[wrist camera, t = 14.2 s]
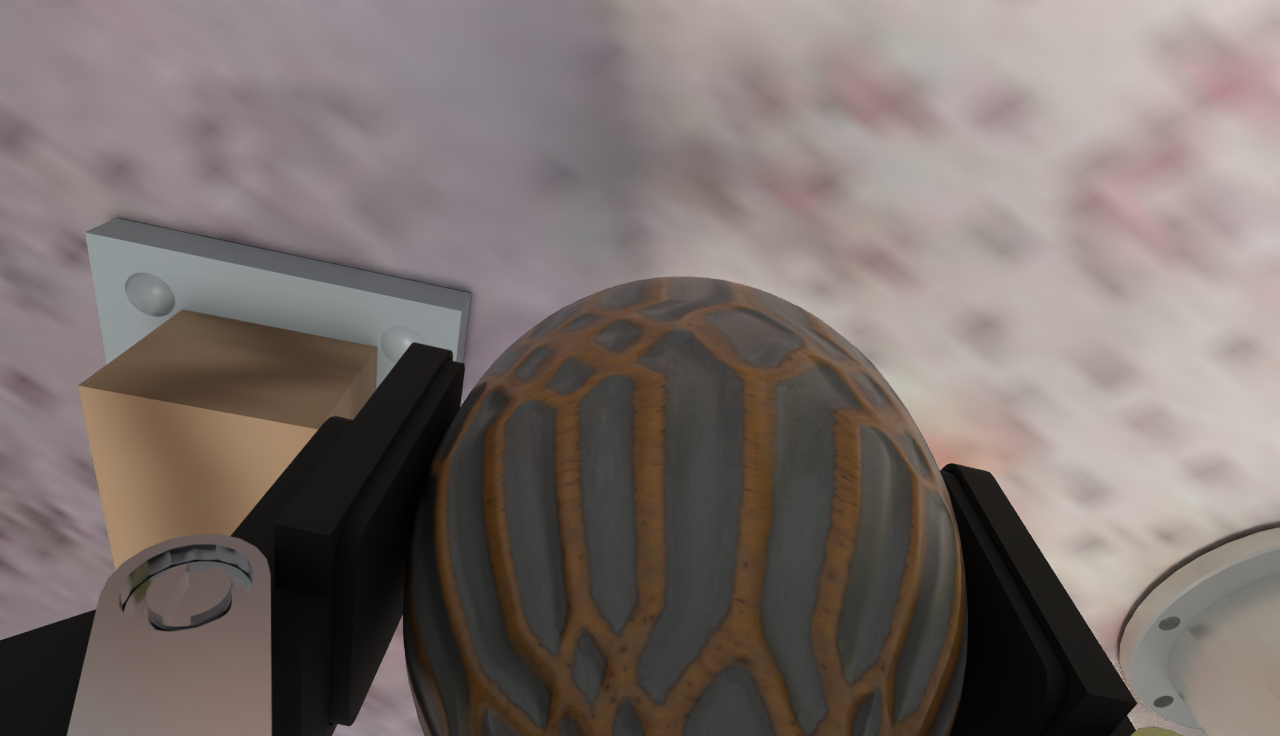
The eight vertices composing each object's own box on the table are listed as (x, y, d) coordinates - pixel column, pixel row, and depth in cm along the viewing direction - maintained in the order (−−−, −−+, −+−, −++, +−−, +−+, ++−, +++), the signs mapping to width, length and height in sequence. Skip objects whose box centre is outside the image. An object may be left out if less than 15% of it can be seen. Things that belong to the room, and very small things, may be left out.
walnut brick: (377, 347, 25) (318, 429, 20) (370, 520, 28) (319, 620, 24) (182, 309, 24) (77, 385, 20) (202, 491, 28) (119, 588, 24)
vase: (414, 322, 12) (-42, 888, 5) (795, 144, 11) (1100, 570, 3) (599, 593, 15) (510, 1231, 7) (925, 487, 13) (1257, 1175, 6)
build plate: (471, 293, 25) (461, 311, 24) (441, 541, 31) (432, 567, 30) (116, 217, 24) (85, 232, 23) (154, 490, 30) (131, 514, 29)
